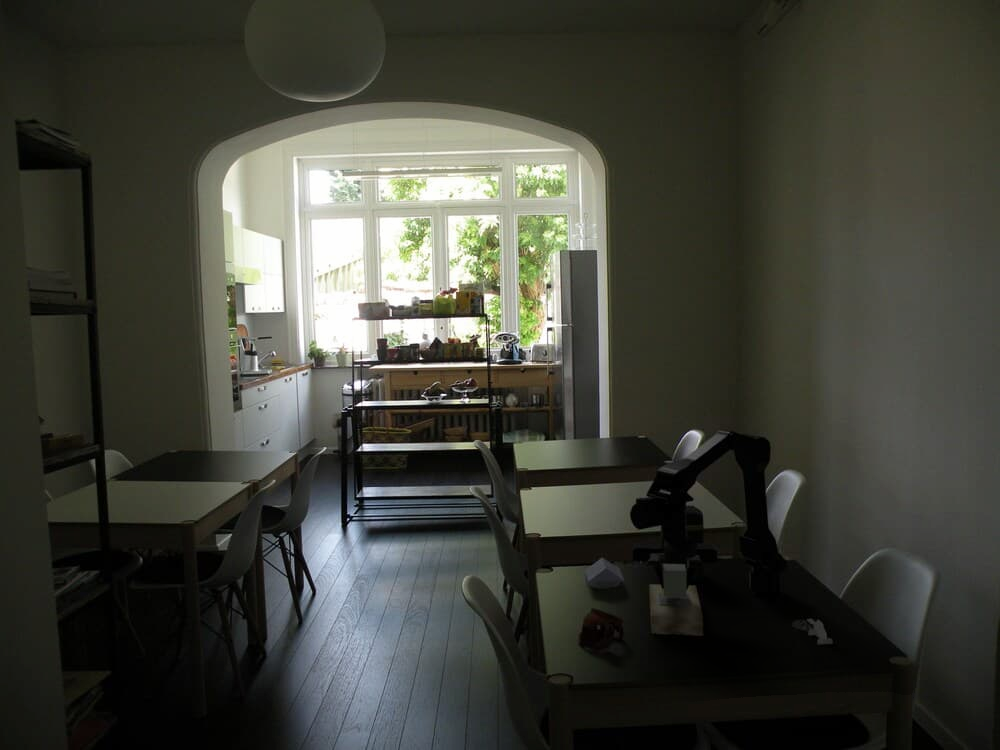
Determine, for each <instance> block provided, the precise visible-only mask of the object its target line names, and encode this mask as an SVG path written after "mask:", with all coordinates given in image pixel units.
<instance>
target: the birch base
mask: <svg viewBox="0 0 1000 750" xmlns="http://www.w3.org/2000/svg"><path fill="white" fill-rule="evenodd" d="M648 589H649V613H650V624H651V625H650V628H651V629H652V630H651V635H669V634H676V636H699V637H700V636H701V637H702V636H704V615H703V612H702V606H701V603H700V598H699V594H698V591H697V590H698V589H697V585H695V584H694V585H690V584H689V587H688V589H687V597H664V591H663V589H662V587H661V584H652V583H651V584H650V583H649V588H648ZM655 633H656V634H655ZM680 634H681V635H680Z"/></svg>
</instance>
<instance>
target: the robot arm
mask: <svg viewBox="0 0 1000 750" xmlns="http://www.w3.org/2000/svg"><path fill="white" fill-rule="evenodd" d="M771 449H772V448H771V443H770V441H769V440H768V439H767V438H766V437H764V436H759V435H753V434H748V433H738V432H736V431H735V430H728V429H719V430H717V431H716V432H715V434H714V435H713V436H712V437H710V438H709V439H708V440H707V441H705V442H704V443H702V444H701V445H700V446H698V447H697V448H696V449H695V450H693V451H692V452H690V453H689V454H688V455H687V456H686V457H684V458H682V459H679V460H675V461H671V462H668V463H667V464H665V465H663V466H661V467H659V469H658V470H657V471H656V472H655V473H656V475H655V477H654V479H653V481H652V483H651V485H650V487H649V489H648V490H647V492H646V494H645V495H646V497H637V498H635V504H633V505H632V506H631V508H630V509H631V510H630V511H629V516H630V517H629V518H630V521H631V524H632V525H633V526H634V528H636V529H637V530H639V531H640V530H646V529H650V528H654V527H655V528H656V527H660V541H661V543H660V547H659V546H658V547H656V546H652V547H651V545H650V544H651V543H650V542H634V543H633V544H632V561H634V562H647V565H651V566H652V567H653V569H654V571H655V572H656V576H657V578H658V582H659V585H661V587H662V589H664V581H663V567H662V563H661V562H662V561H661V557H664V559H663V560H664V564H673V563H680V564H685V563H686V562H687V569H686V585H687V589H688V587H689V585H690V583H691V582H690V581H691V578H692V575H693V573H694V571H695V569H696V567H697V566H699V565H702V562H704V563H717V562H718V550H717V547H716V545H714V543H706V542H704V543H698V545H697V548H695V541H687V528H686V506H687V503H690V502H693V501H694V499H695V498H694V497H693V496H691V495H690V494H689V493H688V492H689V491H690V490H691V488H693V486H694V485H695V484H696V482H697V478H698V477H699V475H700V474H701V473H702V472H703V471H705V470H706V469H708V468H709V467H710V466H711V465H712V464H714V463H715V462H717V461H718V460H719V459H720V458H722V457H723V456H724V455H725V454H727V453H728V452H729V451H731V450H732V451H733V453H734V458H735V462H736V463H737V464H738V466H739V468H740V470H741V471H742V477H743V478H742V479H743V487H744V488H743V489H744V490H743V491H744V499H745V501H744V502H745V514H746V515H745V516H746V525H747V526H746V529H745V531H744V534H743V535H742V534H741V535H740V536H739V538H738V540H739V550H738V551H739V552H741V554H742V557H743V558H744V560H745V564H746V565H747V566H751V570H749V573H748V575H749V578H748V579H749V581H748V582H749V588H750V590H751V591H752V593H753V595H754V596H761V597H763V596H766V597H767V596H769V597H771V596H772V597H781V596H782V592H781V573H783V571H786V569H787V565H788V561H787V560H786V559H785V558H784V556H783V555H781V554H780V553H781V552H779V547H778V544H777V539H776V538H775V536H774V534H773V532H772V531H771V529H770V527H769V518H768V503H767V490H766V477H765V476H766V475H765V473H766V472H765V471H766V470H767V467H768V465H769V463H770V462H771Z"/></svg>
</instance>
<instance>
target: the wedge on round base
mask: <svg viewBox="0 0 1000 750" xmlns="http://www.w3.org/2000/svg"><path fill="white" fill-rule="evenodd" d="M584 573H585V584H586V585H587V586H588V585H589V587H591V588H594V587H595V589H612V587H613V588H615V587H618V586H620V585H621V582H623V581H625V579H624V576H623V574H622V571H621V569H620V568H619V567H618V566H615V565H614V564H613V563H612V562H610V561H608V560H607V559H605V558H604V557H601V558H599V559H598V560H596V562H595V563H593V564H592V565H589V566H587V567H586V568H585V572H584Z"/></svg>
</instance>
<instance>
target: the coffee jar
mask: <svg viewBox="0 0 1000 750" xmlns="http://www.w3.org/2000/svg"><path fill="white" fill-rule="evenodd" d="M686 528H687V541H695V548H697V545H698V543H705V539H704V537H705V532H704V530H705V529H704V513H703V512H702V510H701V509H700V508H697V507H696V506H695V505H686ZM704 563H705V562H702V565H699V566H697V567H696V569H695V571H694V573H693V575H692V578H691V581H690V583H692V582H693V583H694V582H696V581H702V580H703V579H704V575H705V574H704V573H705V572H704V570H705V567H704V566H705V565H704ZM672 564H680V563H672ZM685 568H686V569H687V562H686V563H685Z"/></svg>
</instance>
